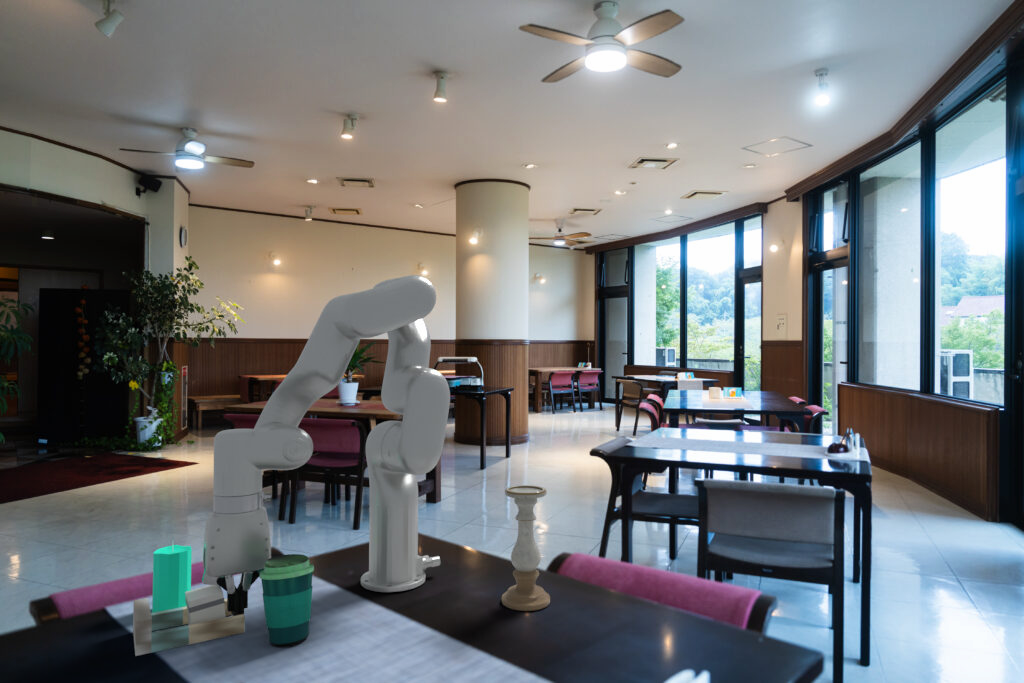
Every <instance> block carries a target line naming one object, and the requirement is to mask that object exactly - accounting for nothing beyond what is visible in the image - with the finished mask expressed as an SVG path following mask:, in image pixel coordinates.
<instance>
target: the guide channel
mask: <svg viewBox="0 0 1024 683" xmlns="http://www.w3.org/2000/svg"><path fill="white" fill-rule="evenodd" d="M224 602H225V603H224V606H225V615H226V618H222V619H217V620H212V621H207V622H202V623H197V624H192V625H188V616H187V607H180V608H175V609H170V610H164V611H159V612H154V613H152V610H151V606H150V602H149V598H148V597H146V598H139V599H135V600H133V613H132V614H133V618H132V620H133V621H132V636H133V644H134V646H133V648H134V655H135V657H137V656H143V655H146V654H152V653H155V652H156V653H157V652H161V651H166V650H169V649H175V648H179V647H184V646H188V645H194V644H198V643H203V642H207V641H210V640H211V641H213V640H217V639H222V638H225V637H230V636H234V635H239V634H243V633H245V632H246V627H245V626H246V625H245V624H246V616H245V613H244V614H241V615H236V616H233V615H232V613H231V611H230V612H228V610H227V598H224ZM183 625H184V626H183ZM178 626H179V627H178Z"/></svg>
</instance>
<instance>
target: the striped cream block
mask: <svg viewBox="0 0 1024 683" xmlns="http://www.w3.org/2000/svg"><path fill="white" fill-rule="evenodd" d="M222 589H223V588H222V587H220V586H219V585H205V586H202V587H198V588H195V589H191V591H187V592H185V597H186V598H185V601H186V607H187V616H188V624H187V625H192V624H197V623H202V622H207V621H212V620H217V619H222V618H227V616H226V615H225V606H224V603H225V602H224V599H225V597H224V590H222Z"/></svg>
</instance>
